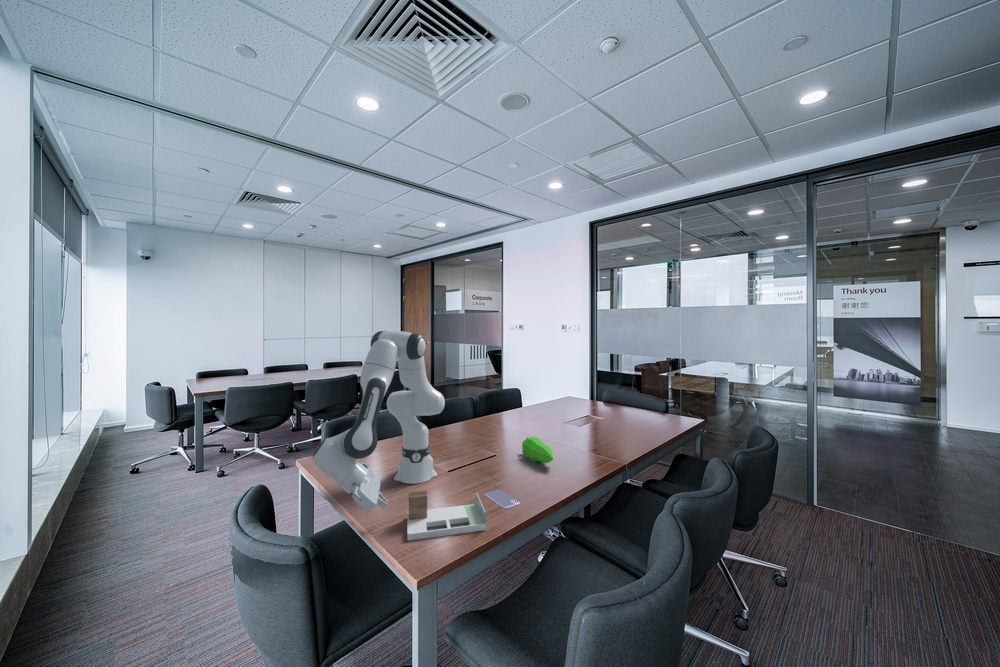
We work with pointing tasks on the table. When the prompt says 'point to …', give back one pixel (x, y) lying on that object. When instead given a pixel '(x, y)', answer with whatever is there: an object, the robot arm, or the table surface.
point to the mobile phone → (502, 498)
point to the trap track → (448, 521)
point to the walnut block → (417, 504)
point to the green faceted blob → (537, 450)
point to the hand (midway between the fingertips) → (385, 505)
